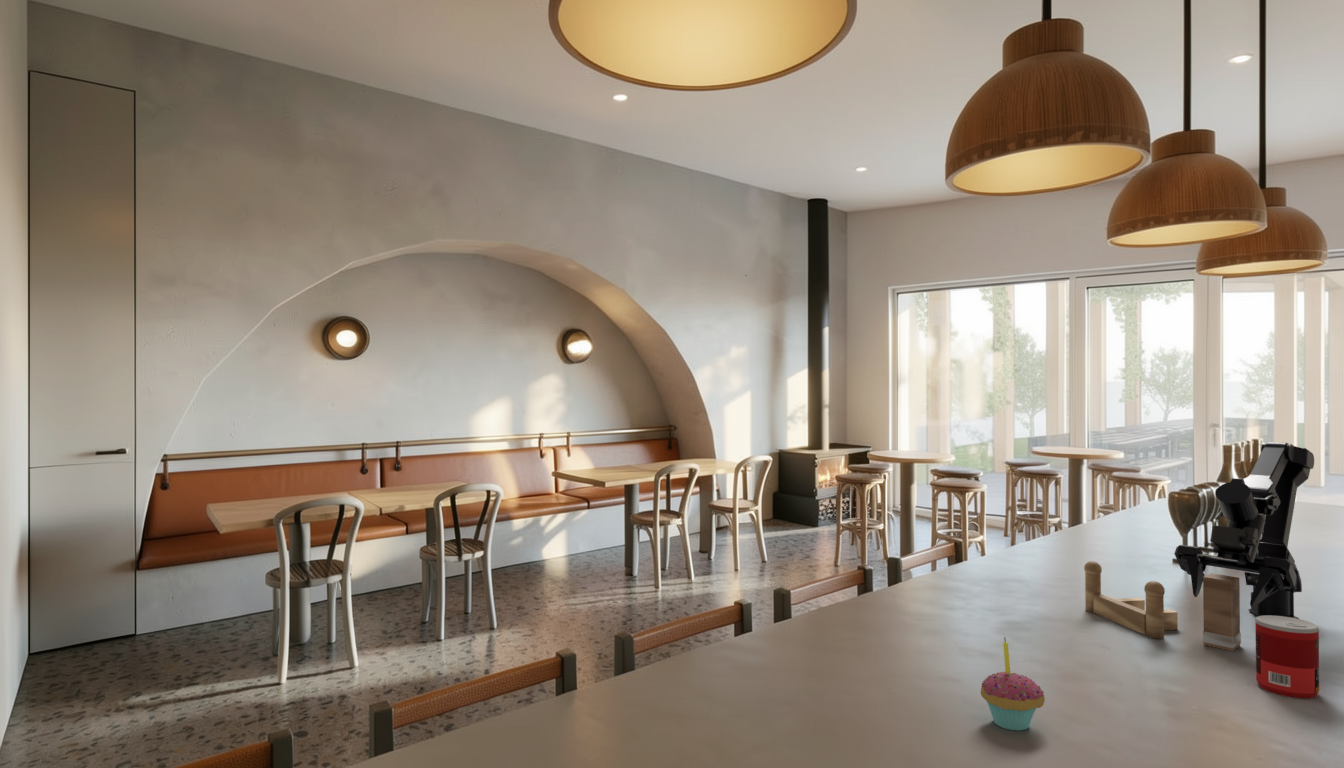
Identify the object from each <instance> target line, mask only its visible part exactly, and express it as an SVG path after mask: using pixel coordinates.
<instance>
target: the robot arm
mask: <svg viewBox="0 0 1344 768" xmlns="http://www.w3.org/2000/svg"><path fill="white" fill-rule="evenodd" d="M1314 465H1315V456H1314V454H1313V452H1312V451H1310V450H1309V449H1307V448H1306V447H1299V446H1295V445H1294V444H1292V443H1289V442H1277V441H1275V442H1274V441H1266V442H1263V443H1262V444H1261V447H1260V454H1259V456H1258V458H1257V460H1256V461H1255V464H1254V466H1253V467H1252V469H1251V471H1250V474H1249V475H1248V476H1247V477H1245V478H1231V481H1230V482H1224V484H1221V485H1220V486H1219V487H1218V488H1216V489H1215V493H1214V494H1215V496H1216V499H1217V502H1218V505H1219V508H1220V510H1221V513H1222V515H1223V517H1224V518H1225V519H1227V520H1228V521H1227V524H1226V526H1223V525H1215V524H1214V525H1212V527H1211V528H1212V529H1211V534H1210V539H1209V540H1210V542H1211V543H1212V544H1213V551H1214V553H1217V555H1211V554H1205V553H1203V550H1202V548H1201V547H1200V546H1195V545H1194V546H1193V545H1188V544H1187V545H1186V544H1180V545H1178V546H1176V548H1175V551H1174V553H1173V554H1174V557H1175V559H1176V561H1177V563H1178V565H1179V567H1180V570H1182V571H1184V572H1186V574H1187V575H1189V576H1190V580H1191V586H1192V587H1191V588H1192V596H1194V598H1197V597H1198V596H1199V595H1200V592H1201V590H1202V589H1201V588H1202V587H1203V577H1204V576H1206V575H1205V573H1204V572H1206V568H1207V566H1209V567H1214V568H1216V567H1217V568H1222V569H1228V570H1230V571H1235V572H1242V573H1244V577H1245V583H1246V585H1245V586H1252V591H1251V592H1250V602H1249V605H1250V608H1248V612H1249V613H1252V614H1254V615H1257V617H1258V616H1265V615H1272V616H1284V617H1291V618H1296V619H1300V618H1299V617H1297V616H1296V615H1295V604H1294V603H1295V601H1294V600H1295V597H1294V596H1295V595H1294V594H1295V593H1302V592H1303V584H1302V579H1301V575H1300V571H1299V570H1298V568H1297V565H1296V562H1295V558H1294V557H1293V554H1291V552H1290V550H1289V548H1288V547H1289V540H1290V534H1291V527H1292V523H1293V522H1292V521H1293V515H1294V509H1295V504H1296V497H1297V491H1298V488H1299V487H1300V486H1301V485H1302V484H1304V483H1305V482H1307V480H1309V477H1310V472H1311V470H1313V469H1314V468H1315V467H1314ZM1262 515H1263V516H1264V517H1263V516H1262Z"/></svg>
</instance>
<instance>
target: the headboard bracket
mask: <svg viewBox="0 0 1344 768" xmlns="http://www.w3.org/2000/svg"><path fill="white" fill-rule="evenodd" d="M1083 569H1084V570H1083V571H1084V576H1085V577H1084V579H1085V580H1084V581H1085V583H1084V584H1085V585H1084V590H1085V591H1084V593H1085V597H1084V598H1085V611H1086V612H1088V611H1089V612H1088V613H1093V612H1094V613H1093V614H1095V613H1096V614H1095V615H1097V614H1098V616H1099V617H1102V618H1104V617H1105V619H1107V620H1109V619H1110V621H1111V620H1112V622H1114V623H1117V624H1118V625H1120V626H1123V625H1124V627H1125V628H1128V629H1130V628H1131V630H1133V629H1134V630H1133V631H1135V630H1136V632H1138V633H1140V632H1141V634H1142V633H1143V634H1142V635H1145V636H1146V637H1147V636H1148V637H1147V638H1149V637H1151V638H1150V639H1153V638H1157V639H1156V640H1163V638H1164V639H1165V631H1173V630H1175V629H1177V630H1178V627H1179V626H1178V624H1179V620H1178V612H1177V611H1174V610H1172V609H1171V608H1170V609H1164V607H1165V604H1164V602H1165V601H1164V597H1165V596H1164V595H1165V591H1166V590H1165V587H1164V585H1163V584H1162V583H1161V582H1159V581H1157V580H1151V581H1148V582H1146V583H1145V585H1144V590H1143V591H1144V593H1145V599H1142V598H1139V597H1127V598H1121V597H1120V598H1113V597H1109V596H1108V595H1105V594H1102V590H1101V589H1102V584H1101V583H1102V571H1103V570H1102V569H1103V568H1102V566H1101V565H1100V563H1099V562H1098V561H1093V560H1089V561H1087V562H1086V563H1085V564H1084V567H1083ZM1177 630H1176V631H1177Z"/></svg>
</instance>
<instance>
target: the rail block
mask: <svg viewBox="0 0 1344 768" xmlns="http://www.w3.org/2000/svg"><path fill="white" fill-rule="evenodd" d="M1202 588H1203V589H1202V592H1203V593H1202V595H1203V598H1202V599H1203V600H1202V603H1203V607H1202V608H1203V611H1202V612H1203V613H1202V614H1203V630H1202V642H1203V645H1204V646H1206V645H1208V646H1207V647H1211V646H1213V647H1212V648H1215V647H1217V648H1216V649H1219V648H1221V649H1220V650H1224V649H1226V650H1225V651H1228V650H1229V651H1230V652H1233V651H1235V650H1237V649H1238V648H1240V647H1241V644H1242V633H1241V614H1240V613H1241V607H1240V606H1241V605H1240V604H1241V603H1240V602H1241V599H1240V597H1241V596H1240V590H1241V589H1240V588H1241V587H1240V577H1237V576H1231V575H1224V574H1217V573H1212V572H1211V573H1209V574H1207V575H1205V576H1204V577H1203V583H1202ZM1236 648H1237V649H1236Z"/></svg>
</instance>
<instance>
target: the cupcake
mask: <svg viewBox="0 0 1344 768" xmlns="http://www.w3.org/2000/svg"><path fill="white" fill-rule="evenodd" d="M1003 641H1004V642H1003V643H1002V644H1003V645H1002V647H1003V657H1004V669H1005V671H1002V672H996V673H992V674H990V675H987V677H986V678H984V679H983V680H982V683H981V689H980V695H981V697H982V699H984V700H985V701H986V703H987V705H988V707H989V711H990V714H991V717H992V721H993V722H994V724H995V725H996V726H998V727H1001V728H1002V729H1006V730H1010V731H1025V730H1027V729H1029V727H1030V725H1031V722H1032V719H1033V717H1034V714H1035V712H1036V710H1037V709H1040V708H1042V707H1043V706H1044V704H1045V699H1046V698H1045V694H1044V690H1042V688H1041V686H1040V685H1038V684H1037V683H1036V682H1035V681H1034V680H1033V679H1031V678H1029V677H1027V676H1026V675H1025V676H1024V675H1022V674H1018V673H1017V672H1011V664H1010V654H1009V653H1010V652H1009V642H1007V638H1006V636H1004V637H1003Z"/></svg>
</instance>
